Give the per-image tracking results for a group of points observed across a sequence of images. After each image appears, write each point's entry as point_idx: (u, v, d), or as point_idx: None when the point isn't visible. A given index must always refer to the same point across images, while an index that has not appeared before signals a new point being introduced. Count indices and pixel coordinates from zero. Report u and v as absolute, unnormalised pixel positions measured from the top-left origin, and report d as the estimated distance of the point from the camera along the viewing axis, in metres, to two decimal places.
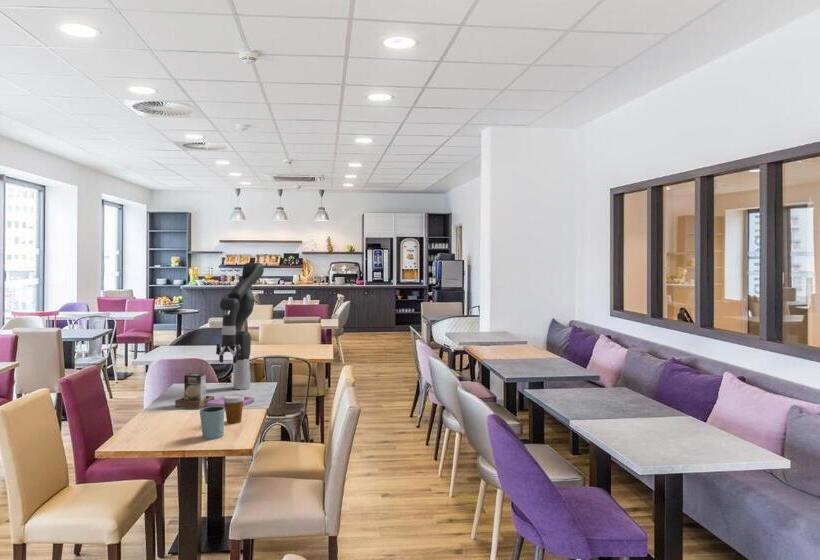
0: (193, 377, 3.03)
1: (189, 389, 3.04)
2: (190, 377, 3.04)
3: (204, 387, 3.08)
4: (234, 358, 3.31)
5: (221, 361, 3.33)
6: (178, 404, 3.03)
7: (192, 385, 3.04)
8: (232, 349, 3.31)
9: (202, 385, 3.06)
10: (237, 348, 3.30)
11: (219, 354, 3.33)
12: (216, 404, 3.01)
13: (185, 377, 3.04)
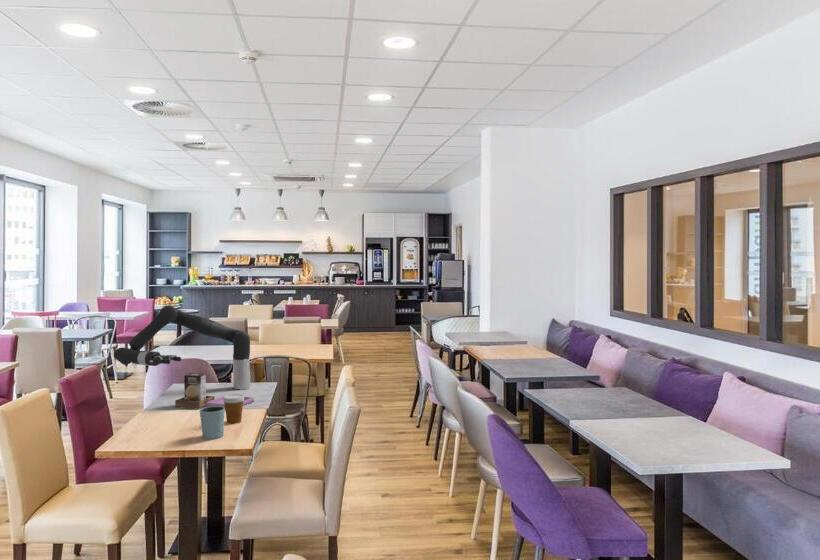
0: (193, 377, 3.03)
1: (189, 389, 3.04)
2: (190, 377, 3.04)
3: (204, 387, 3.08)
4: (164, 363, 3.06)
5: (179, 360, 3.14)
6: (178, 404, 3.03)
7: (192, 385, 3.04)
8: None
9: (202, 385, 3.06)
10: (152, 363, 3.06)
11: (173, 360, 3.16)
12: (216, 404, 3.01)
13: (185, 377, 3.04)
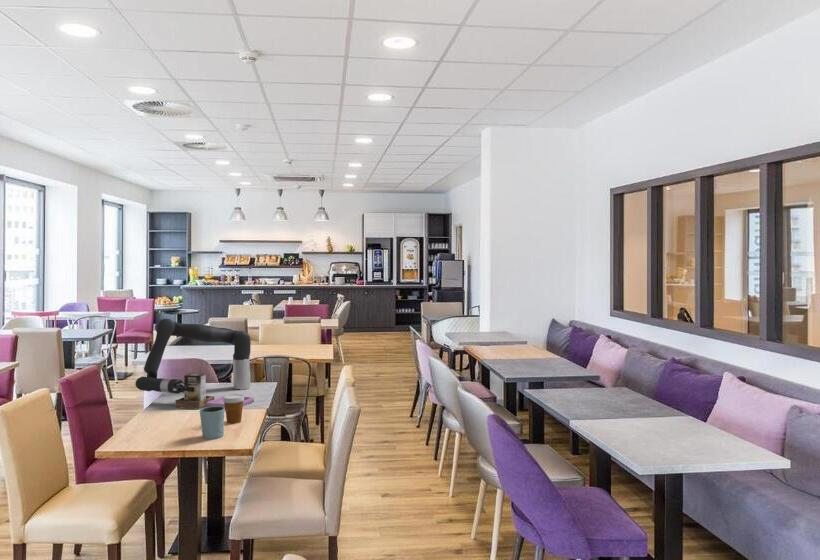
0: (193, 377, 3.03)
1: None
2: (190, 377, 3.04)
3: (204, 387, 3.08)
4: (188, 391, 3.03)
5: None
6: (178, 404, 3.03)
7: (192, 385, 3.04)
8: None
9: (202, 385, 3.06)
10: (176, 392, 3.03)
11: None
12: (216, 404, 3.01)
13: (185, 377, 3.04)
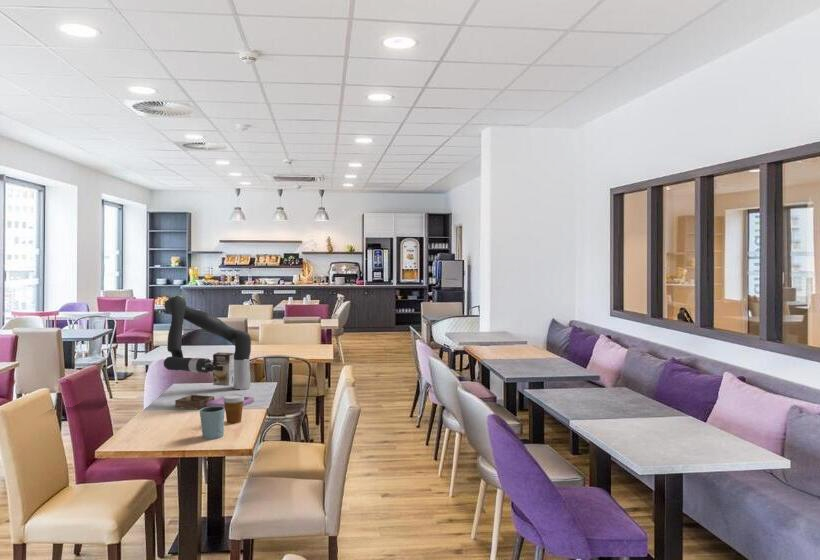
0: (222, 356, 3.04)
1: None
2: (219, 356, 3.04)
3: (232, 366, 3.08)
4: (217, 370, 3.03)
5: None
6: (178, 404, 3.03)
7: (220, 364, 3.04)
8: None
9: (231, 364, 3.06)
10: (205, 370, 3.03)
11: None
12: (216, 404, 3.01)
13: (214, 356, 3.04)
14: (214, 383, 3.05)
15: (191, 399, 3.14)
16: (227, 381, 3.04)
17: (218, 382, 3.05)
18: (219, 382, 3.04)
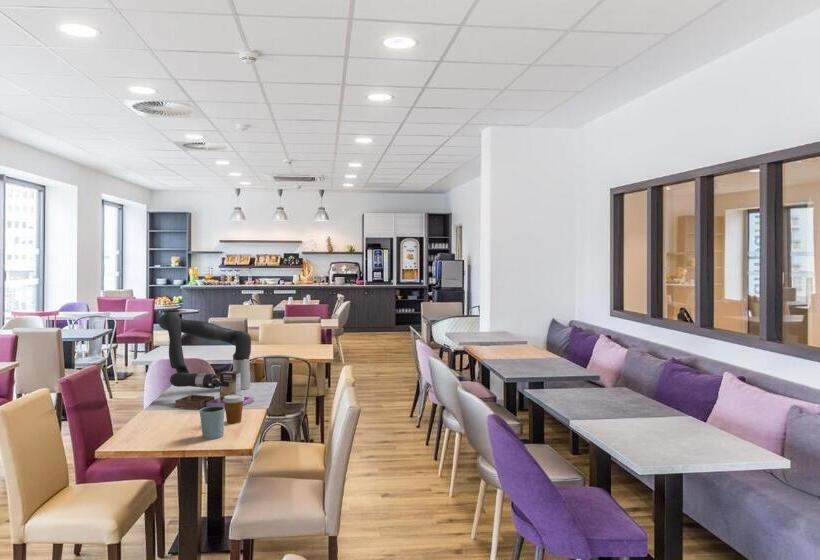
0: (228, 375, 3.04)
1: None
2: (225, 374, 3.05)
3: (239, 385, 3.09)
4: (223, 386, 3.03)
5: None
6: (178, 404, 3.03)
7: None
8: None
9: (237, 382, 3.06)
10: (211, 386, 3.03)
11: None
12: (216, 404, 3.01)
13: (221, 374, 3.05)
14: (221, 401, 3.06)
15: (191, 399, 3.14)
16: None
17: None
18: None
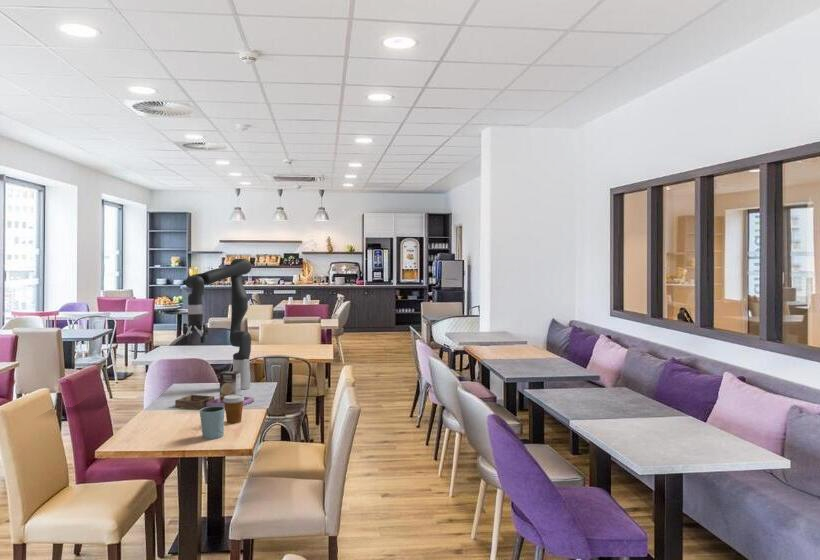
0: (228, 375, 3.04)
1: (224, 387, 3.05)
2: (225, 375, 3.04)
3: (239, 385, 3.08)
4: (201, 338, 3.19)
5: (188, 341, 3.22)
6: (178, 404, 3.03)
7: (227, 383, 3.04)
8: (199, 329, 3.19)
9: (237, 383, 3.06)
10: (204, 328, 3.18)
11: (186, 334, 3.21)
12: (216, 404, 3.01)
13: (220, 375, 3.05)
14: (221, 402, 3.05)
15: (191, 399, 3.14)
16: None
17: None
18: None
